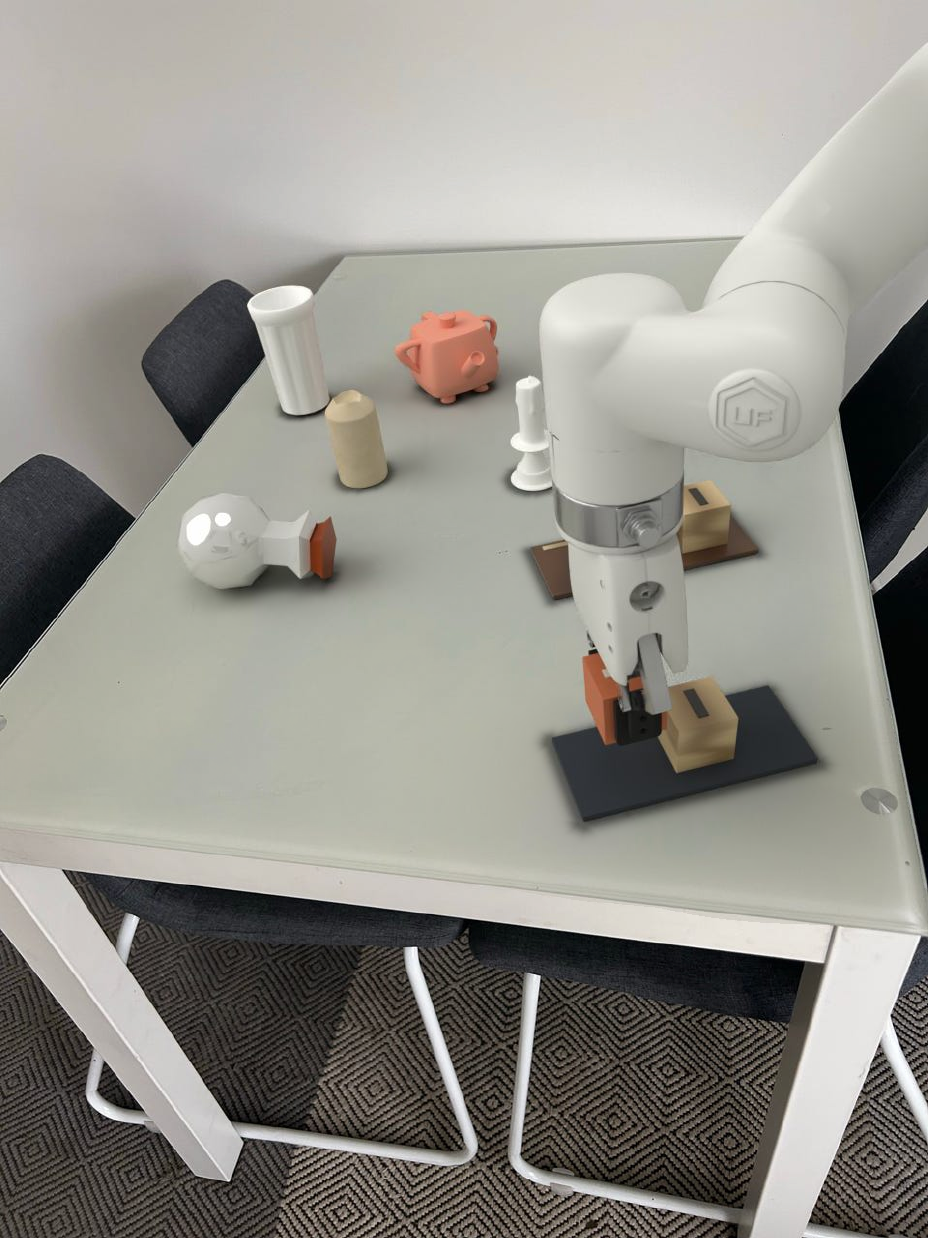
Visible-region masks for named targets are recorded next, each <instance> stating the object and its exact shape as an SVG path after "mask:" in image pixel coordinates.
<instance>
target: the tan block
mask: <svg viewBox="0 0 928 1238" xmlns="http://www.w3.org/2000/svg"><path fill="white" fill-rule="evenodd" d="M668 689H669V694H670V698H671V703H672V710H669V711H667V729H666V730H662V733H661V735H660V736H658V738H659V740H660V742H661V744H662V746H663V748H664V750H665V752H666V754H667V756H668V758H669V760H670V762H671V763H672V765H673V767H674V769H675V771H676V773H679V772H683V771H687V770H691V769H695V768H699V767H703V766H707V765H711V764H715V763H719V762H723V761H727V760H731V759H734V751H735V743H736V734H737V725H738V717H737V715H736V713H735V712H734V710H733V709H732V707H731V705H730V704H729V702H728V700H727V699H726V697H725V696H726V695H725V694H724V692H723V690H722V689H721V688H720V686H719V684H718V683H717V681H716V679H715V677H714V676H712V675H711V676H708V677H704V678H700V679H695V680H691V681H686V682H683V683H678V684H674V685H670V686H668Z"/></svg>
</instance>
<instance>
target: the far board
mask: <svg viewBox="0 0 928 1238" xmlns="http://www.w3.org/2000/svg"><path fill="white" fill-rule="evenodd" d="M529 548H530V549H529V550H530V552H531V555H532V557H533V559H534V561H535V564H536V566H537V568H538V570H539V572H540V574H541V576H542V578H543V581H544V583H545V585H546V587H547V589H548V591H549V593H550V595H551V598H552V599H553V600H559V599H564V598H568V597H573V592H572V586H571V578H570V568H569V552H568V542H567V541H566V540H565V539H561V540H556V541H551V542H548V543H543V544H539V545H533V546H530V547H529ZM680 551H681V550H680ZM758 552H759V549H758V547H757V546H756V544H754V542H753V541H752V540H751V538H750V537H749V536H748V535H747V534H746V532H745V531H744V529H742V527H741V526H740V524H739V523H738V522H737V521H736V520H735V517H733V515H732V514H730V520H729V531H728V543H727V544H723V545H719V546H715V547H710V548H706V549H702V550H697V551H693V552H688V553H684V554H683V553H682V552H681V556H682V563H683V570H684V571H686V570H690V569H695V568H700V567H703V566H704V567H705V566H709V565H712V564H716V563H720V562H724V561H730V560H734V559H739V558H743V557H747V556H752V555H756V554H758Z"/></svg>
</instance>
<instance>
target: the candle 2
mask: <svg viewBox="0 0 928 1238" xmlns="http://www.w3.org/2000/svg"><path fill="white" fill-rule="evenodd" d="M515 404H516V406H517V410H518V413H517V414H518V424H519V425H518V426H519V431H518V432H516V433H515V434H514V435H512V437H511V439H510V445H511V447H512V448H514V449H515V450H517V451H519V452H523V453H524V454H523V457H522V459H521V460H520V461H519V462H518V464H517V465H516V469H515V470H514V471H513V472H512V474H511V476H510V481H511V484H512V485H513V486H514V487H516V488H517V489H519V490H523V491H527V492H540V491H544V490H547V489H550V488H552V477H551V475H552V474H551V463H550V458H549V459H548V458H547V457H546V455H545V453H544V452H543V451H545V450H547V449H549V440H548V430H547V429H545V422H544V421H545V420H544V412H545V411H546V408H545V400H544V389H543V384H542V382H541V381H540V379H538V378H537V377H536V376H533V375H532V376H531V375H528V377H524V378H521V379H520V380H518V381H517V382H516V384H515Z"/></svg>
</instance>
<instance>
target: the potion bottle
mask: <svg viewBox="0 0 928 1238" xmlns="http://www.w3.org/2000/svg"><path fill="white" fill-rule="evenodd" d="M332 519H333V518H332V516H329V517H328V518H326V519H325V520H324V521H323V522H318V521H317V520H316V517H315V516H314V514H313V512H312V510H311V509H308V510H307V511H306V512H305V513H303V514H302V515H301V516H299V517H298V518H297V519H296V520H294V521H293V522H292V521H282V520H281V521H280V520H270V518H269V516H267V514H266V512H265V511H264V510H263V508H262V507H261V506H260V505H259V504H258V503H257V502H256V501H255V500H254V499H253V498H252V497H249V496H246V495H241V494H237V493H230V492H221V493H216V494H209V495H205V496H202V497H201V498H200V499H199V500H198V501H197V502H196V503H195V504H194V505H192V506H191V507H190V508H189V509H187V510H186V512H184V513H183V514H182V515H181V516H180V521H179V527H178V532H177V538H176V544H175V548H176V549H177V551H178V553H179V555H180V557H181V559H182V561H183V563H184V565H185V567H186V568H187V570H188V572H189V573H190V575H191V576H192V577H194V578H195V579H196V580H198V581H199V582H200V583H202V584H203V585H207V586H209V587H212V588H215V589H218V590H224V589H233V588H240V587H248V586H252V585H253V584H254V582H256V580H257V579H258V578H259V577H260V576H261V575H262V573H264V572H265V571H266V570H267V569H268V568H269V566H271V565H273V566H285V567H288V568H289V569H290V570H291V571H292V572H293V574H295V576H296V577H297V578H298V579H300V580H302V579H307V578H312V577H313V575H314V574H315V573H316V574H317V575H318V576H319V577H320V578H321V579H329V578H332V577H333V570H334V563H335V554H336V548H337V540H338V539H337V536H336V531H335V527H334V523H333V520H332Z"/></svg>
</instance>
